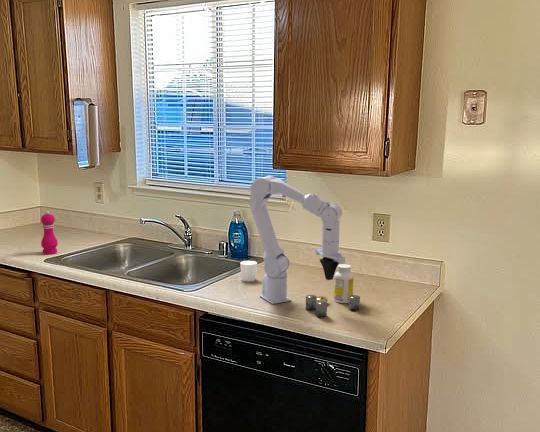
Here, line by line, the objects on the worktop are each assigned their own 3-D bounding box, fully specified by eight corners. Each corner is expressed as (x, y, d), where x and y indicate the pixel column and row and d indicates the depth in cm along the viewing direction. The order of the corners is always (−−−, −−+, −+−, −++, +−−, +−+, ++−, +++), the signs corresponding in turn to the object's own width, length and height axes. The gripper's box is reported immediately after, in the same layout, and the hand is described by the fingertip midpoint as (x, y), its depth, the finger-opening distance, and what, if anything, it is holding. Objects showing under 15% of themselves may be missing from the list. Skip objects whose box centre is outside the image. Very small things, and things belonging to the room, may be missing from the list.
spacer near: (303, 308, 187) (303, 295, 187) (312, 306, 189) (312, 294, 188) (309, 311, 184) (309, 298, 184) (318, 309, 186) (318, 297, 185)
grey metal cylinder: (346, 308, 188) (347, 296, 187) (355, 306, 189) (355, 294, 189) (353, 311, 185) (353, 299, 184) (361, 310, 186) (362, 297, 185)
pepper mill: (42, 255, 252) (39, 212, 248) (40, 252, 258) (37, 210, 254) (59, 253, 255) (56, 211, 252) (57, 250, 262) (54, 209, 258)
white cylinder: (236, 279, 220) (236, 262, 218) (249, 275, 224) (249, 259, 223) (247, 283, 215) (247, 265, 213) (260, 279, 219) (260, 262, 218)
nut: (312, 302, 194) (312, 297, 193) (322, 300, 196) (322, 295, 195) (319, 306, 190) (319, 300, 190) (329, 304, 192) (329, 298, 192)
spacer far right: (313, 315, 181) (314, 302, 180) (322, 313, 183) (323, 300, 182) (319, 318, 178) (320, 305, 177) (329, 316, 180) (329, 303, 179)
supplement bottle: (350, 297, 199) (352, 263, 197) (354, 303, 192) (355, 268, 190) (332, 297, 199) (333, 263, 196) (335, 303, 192) (336, 268, 190)
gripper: (353, 243, 180) (351, 283, 183) (327, 235, 193) (326, 272, 195) (335, 246, 177) (334, 286, 179) (311, 237, 189) (310, 274, 192)
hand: (329, 279), depth 187 cm, fingers closed
